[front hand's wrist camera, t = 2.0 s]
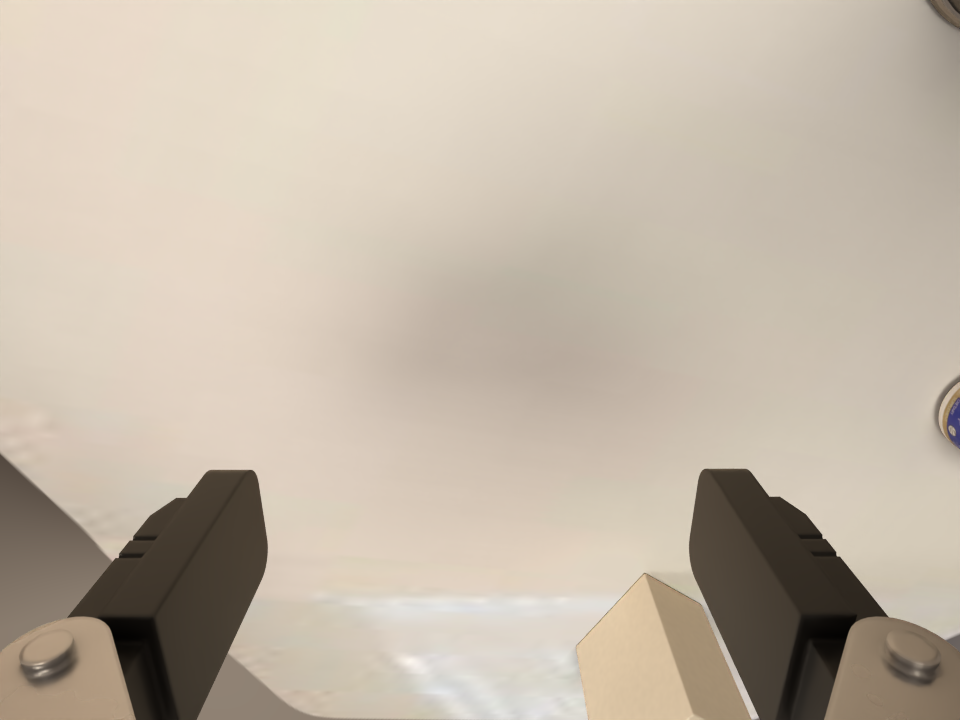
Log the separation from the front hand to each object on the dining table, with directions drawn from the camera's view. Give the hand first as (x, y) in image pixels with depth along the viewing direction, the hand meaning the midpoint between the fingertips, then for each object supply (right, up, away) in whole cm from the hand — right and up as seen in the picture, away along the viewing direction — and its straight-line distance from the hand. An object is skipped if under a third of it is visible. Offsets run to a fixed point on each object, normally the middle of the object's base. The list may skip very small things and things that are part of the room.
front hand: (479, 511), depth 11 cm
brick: (+11, -16, +32) cm, 38 cm away
